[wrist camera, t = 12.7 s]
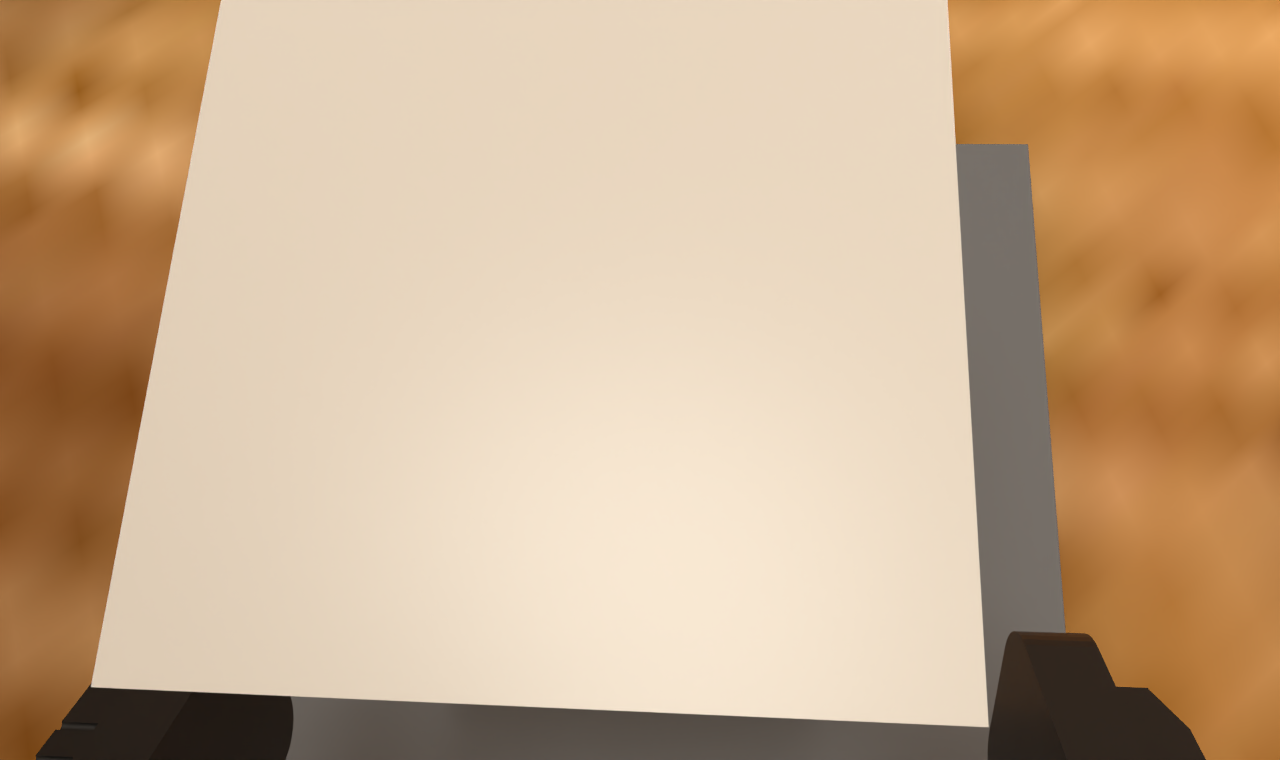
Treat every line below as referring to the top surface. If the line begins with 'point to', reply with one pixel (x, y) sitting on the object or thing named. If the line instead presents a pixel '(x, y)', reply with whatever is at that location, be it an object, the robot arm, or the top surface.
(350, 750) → the mat
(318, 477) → the white rectangular block
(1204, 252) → the top surface
